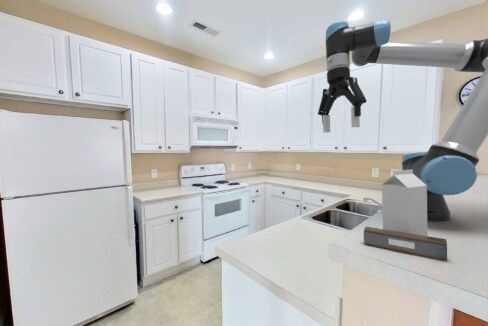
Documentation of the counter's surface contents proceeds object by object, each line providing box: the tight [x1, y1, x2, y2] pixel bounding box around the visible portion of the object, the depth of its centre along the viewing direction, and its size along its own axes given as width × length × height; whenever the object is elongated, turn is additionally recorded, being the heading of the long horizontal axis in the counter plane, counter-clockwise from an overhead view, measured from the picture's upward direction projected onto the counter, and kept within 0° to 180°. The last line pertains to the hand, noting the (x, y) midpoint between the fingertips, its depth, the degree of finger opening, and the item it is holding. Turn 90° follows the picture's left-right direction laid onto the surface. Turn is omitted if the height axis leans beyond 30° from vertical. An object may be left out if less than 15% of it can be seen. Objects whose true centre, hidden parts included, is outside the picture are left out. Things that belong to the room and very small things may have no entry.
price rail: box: [363, 226, 448, 262], centre depth 53 cm, size 3×16×4 cm, turn 50°
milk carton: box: [381, 169, 428, 236], centre depth 59 cm, size 7×7×19 cm
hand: (340, 130), depth 78 cm, fingers open, 13 cm apart
